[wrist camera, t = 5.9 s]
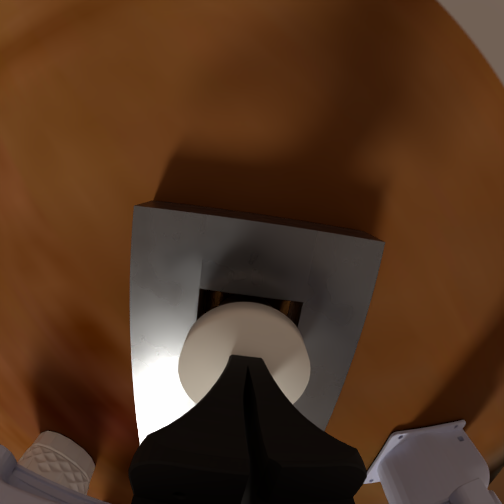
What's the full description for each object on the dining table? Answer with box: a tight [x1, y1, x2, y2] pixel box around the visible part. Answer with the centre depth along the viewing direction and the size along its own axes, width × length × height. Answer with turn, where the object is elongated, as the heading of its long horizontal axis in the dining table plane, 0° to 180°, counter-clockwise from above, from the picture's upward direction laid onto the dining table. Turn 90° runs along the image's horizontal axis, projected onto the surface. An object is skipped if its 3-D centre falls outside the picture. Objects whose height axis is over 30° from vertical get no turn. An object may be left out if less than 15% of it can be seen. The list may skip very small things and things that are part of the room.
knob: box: [178, 294, 310, 404], centre depth 15 cm, size 6×6×5 cm
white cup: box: [17, 431, 95, 495], centre depth 17 cm, size 8×8×10 cm
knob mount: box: [130, 200, 385, 444], centre depth 18 cm, size 12×24×3 cm, turn 172°
